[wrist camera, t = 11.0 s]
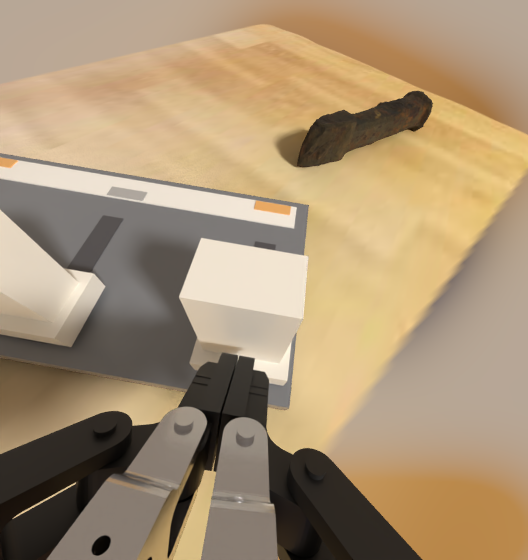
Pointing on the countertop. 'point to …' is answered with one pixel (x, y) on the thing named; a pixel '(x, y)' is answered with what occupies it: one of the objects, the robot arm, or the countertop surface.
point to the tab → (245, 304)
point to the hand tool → (362, 128)
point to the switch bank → (135, 262)
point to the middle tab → (41, 291)
